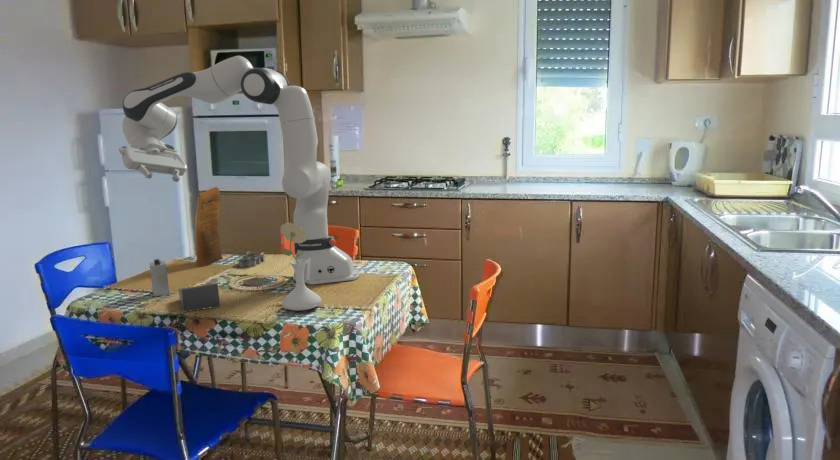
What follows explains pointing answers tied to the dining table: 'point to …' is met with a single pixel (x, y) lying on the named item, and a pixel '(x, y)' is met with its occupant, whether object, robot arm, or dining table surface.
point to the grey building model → (251, 259)
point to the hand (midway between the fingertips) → (163, 178)
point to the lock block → (159, 278)
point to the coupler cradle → (199, 297)
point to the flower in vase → (298, 273)
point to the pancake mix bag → (208, 227)
